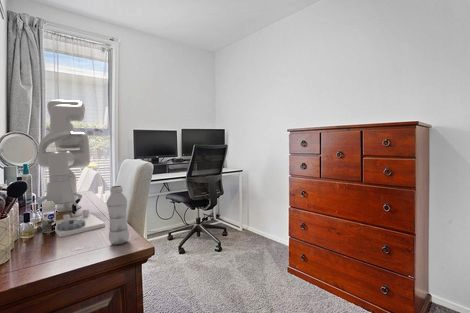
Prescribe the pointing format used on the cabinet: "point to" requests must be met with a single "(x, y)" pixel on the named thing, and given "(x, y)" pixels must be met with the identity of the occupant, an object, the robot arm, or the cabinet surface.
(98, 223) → the gear board
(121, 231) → the plastic bottle
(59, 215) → the ochre gear
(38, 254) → the cabinet surface
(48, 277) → the cabinet surface
